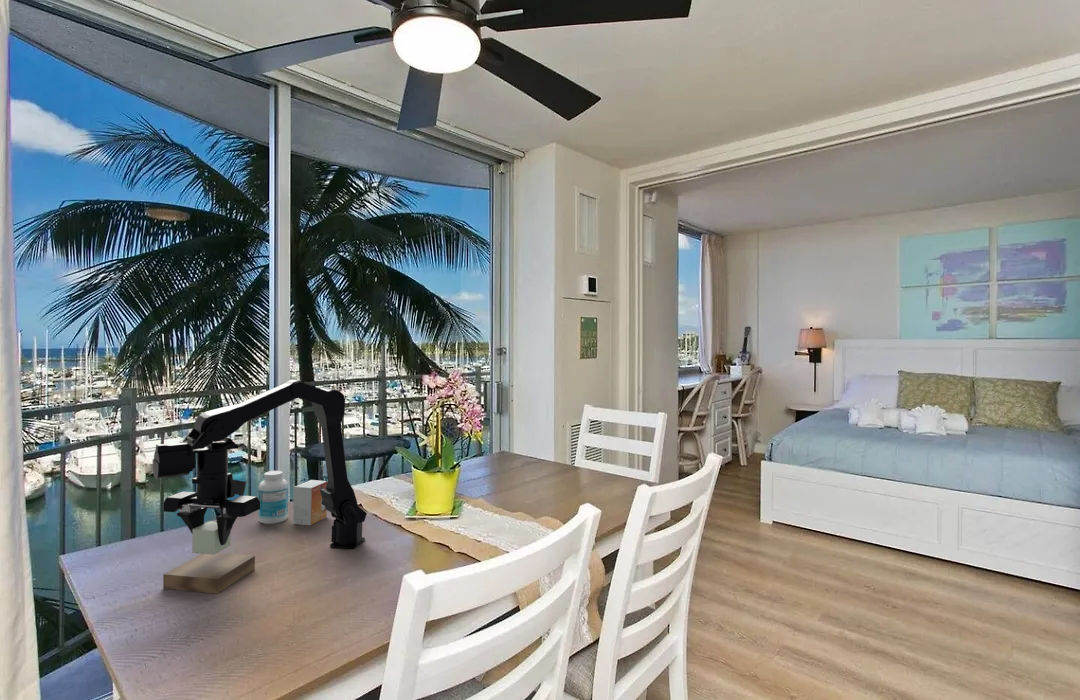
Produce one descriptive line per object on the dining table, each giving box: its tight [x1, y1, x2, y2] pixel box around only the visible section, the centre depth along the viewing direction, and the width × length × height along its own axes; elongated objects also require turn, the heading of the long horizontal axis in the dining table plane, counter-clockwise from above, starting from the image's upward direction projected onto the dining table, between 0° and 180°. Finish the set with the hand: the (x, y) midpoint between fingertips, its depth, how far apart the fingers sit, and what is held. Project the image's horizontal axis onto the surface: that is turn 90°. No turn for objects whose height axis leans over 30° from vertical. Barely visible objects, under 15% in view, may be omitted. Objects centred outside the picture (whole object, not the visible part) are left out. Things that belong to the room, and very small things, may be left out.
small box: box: [292, 479, 328, 526], centre depth 157 cm, size 8×6×10 cm
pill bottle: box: [257, 470, 289, 525], centre depth 156 cm, size 8×7×14 cm
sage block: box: [191, 520, 232, 555], centre depth 119 cm, size 5×5×5 cm
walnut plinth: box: [162, 552, 256, 594], centre depth 119 cm, size 12×12×3 cm
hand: (211, 543), depth 119 cm, fingers closed on sage block, 5 cm apart
